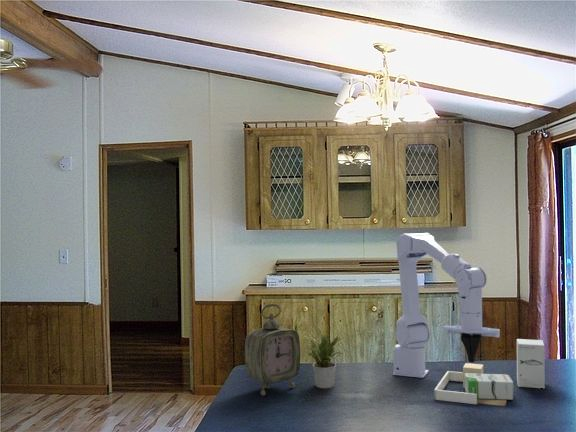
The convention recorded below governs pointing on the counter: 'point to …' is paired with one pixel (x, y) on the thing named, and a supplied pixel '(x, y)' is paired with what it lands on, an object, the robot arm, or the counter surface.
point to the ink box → (489, 386)
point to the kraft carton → (471, 370)
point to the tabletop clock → (272, 353)
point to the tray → (452, 395)
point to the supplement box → (530, 363)
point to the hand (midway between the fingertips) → (471, 361)
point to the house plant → (324, 361)
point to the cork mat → (493, 401)
